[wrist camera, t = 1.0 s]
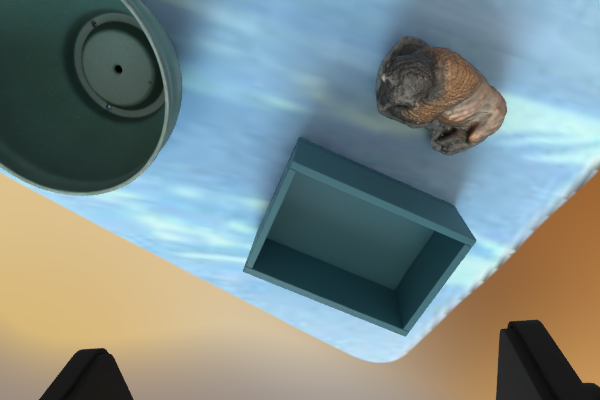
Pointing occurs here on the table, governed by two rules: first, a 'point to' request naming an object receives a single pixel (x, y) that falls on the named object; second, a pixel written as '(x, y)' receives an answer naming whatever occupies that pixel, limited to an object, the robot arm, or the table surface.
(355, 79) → the table surface
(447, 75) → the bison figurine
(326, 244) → the bin
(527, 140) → the table surface
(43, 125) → the flower pot
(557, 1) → the table surface
